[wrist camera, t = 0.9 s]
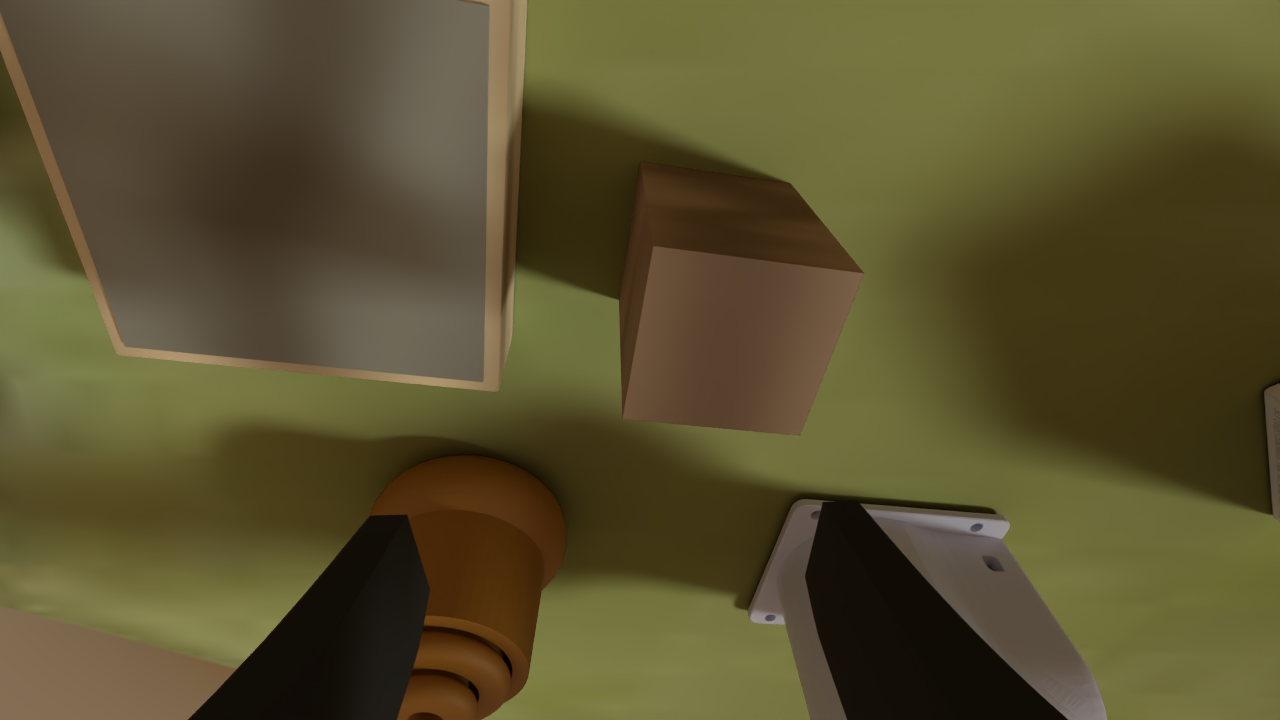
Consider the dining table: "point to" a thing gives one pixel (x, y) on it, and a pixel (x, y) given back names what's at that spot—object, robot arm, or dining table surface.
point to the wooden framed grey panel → (287, 176)
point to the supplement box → (1273, 443)
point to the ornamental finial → (476, 579)
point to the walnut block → (728, 302)
